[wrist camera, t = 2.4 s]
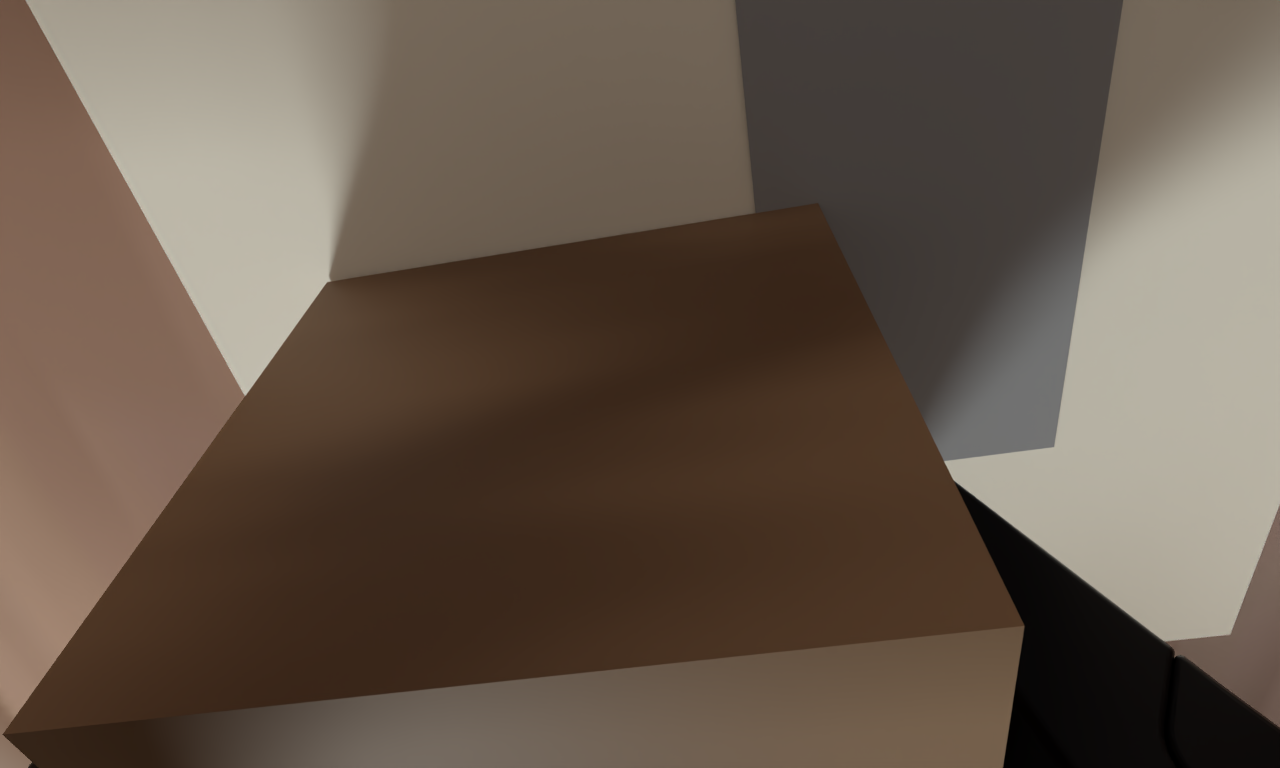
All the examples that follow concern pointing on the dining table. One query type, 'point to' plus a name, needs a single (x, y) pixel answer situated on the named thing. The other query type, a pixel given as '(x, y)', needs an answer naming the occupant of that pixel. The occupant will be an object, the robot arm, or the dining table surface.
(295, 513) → the walnut block
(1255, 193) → the letter
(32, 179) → the dining table surface
